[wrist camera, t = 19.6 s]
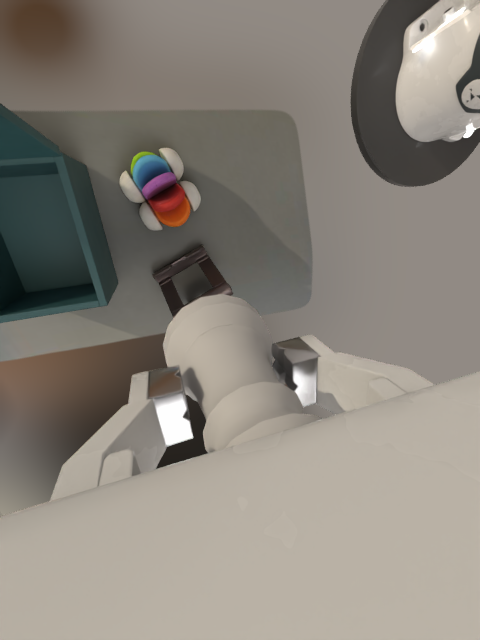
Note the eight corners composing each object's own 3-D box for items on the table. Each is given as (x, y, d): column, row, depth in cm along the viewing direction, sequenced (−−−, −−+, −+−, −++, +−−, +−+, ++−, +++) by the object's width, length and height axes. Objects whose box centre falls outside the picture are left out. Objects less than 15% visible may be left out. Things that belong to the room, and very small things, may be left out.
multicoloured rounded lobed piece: (155, 238, 41) (155, 245, 35) (111, 172, 37) (102, 165, 30) (205, 209, 41) (213, 210, 35) (167, 139, 37) (169, 126, 31)
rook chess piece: (183, 397, 13) (220, 627, 6) (145, 312, 11) (131, 500, 4) (271, 361, 14) (399, 530, 7) (249, 276, 12) (396, 382, 5)
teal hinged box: (118, 283, 42) (107, 305, 33) (24, 297, 40) (-16, 325, 30) (86, 165, 36) (61, 152, 27) (-29, 173, 33) (-100, 161, 24)
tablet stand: (202, 243, 43) (211, 251, 36) (226, 286, 47) (239, 301, 39) (152, 272, 43) (151, 287, 35) (180, 313, 46) (184, 334, 39)
